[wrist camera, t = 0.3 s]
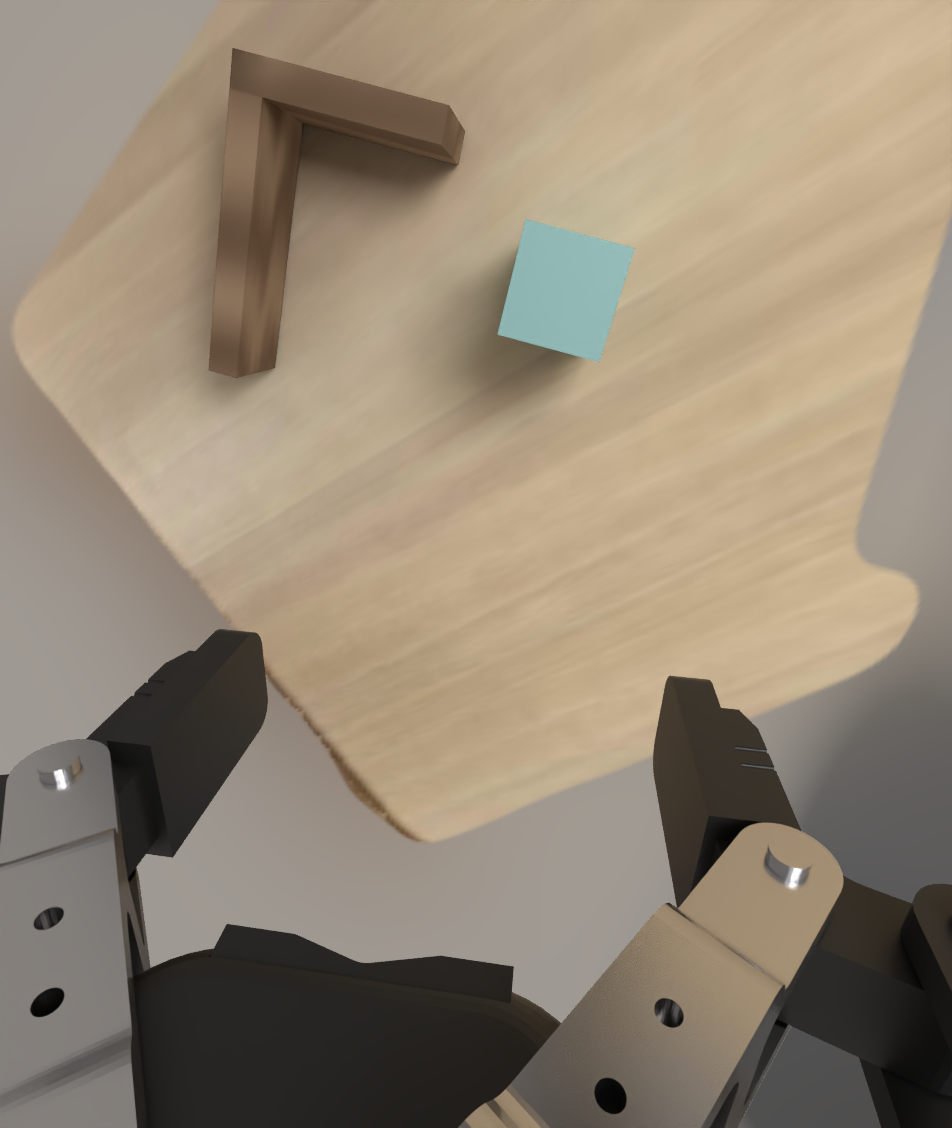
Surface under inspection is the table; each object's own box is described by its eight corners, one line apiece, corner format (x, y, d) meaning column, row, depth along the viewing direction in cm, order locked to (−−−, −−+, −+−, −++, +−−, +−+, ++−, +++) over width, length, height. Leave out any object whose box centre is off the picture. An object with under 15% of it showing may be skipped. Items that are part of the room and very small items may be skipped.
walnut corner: (278, 81, 33) (232, 48, 29) (465, 131, 33) (449, 105, 28) (250, 360, 39) (208, 370, 34) (409, 404, 39) (389, 419, 34)
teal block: (534, 236, 34) (525, 219, 26) (617, 258, 34) (634, 248, 26) (512, 324, 36) (497, 334, 28) (591, 345, 36) (599, 362, 28)
